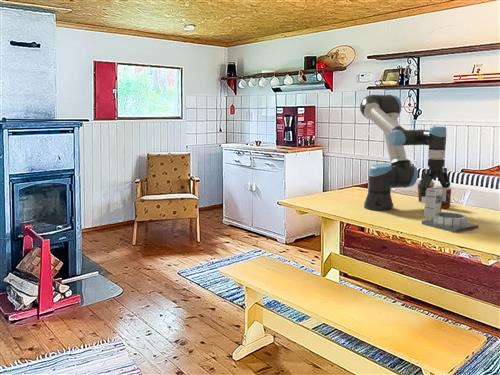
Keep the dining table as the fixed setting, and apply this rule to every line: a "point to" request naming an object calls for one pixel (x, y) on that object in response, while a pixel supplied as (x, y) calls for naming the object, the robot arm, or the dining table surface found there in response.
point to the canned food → (446, 203)
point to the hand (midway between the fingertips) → (433, 202)
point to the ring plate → (449, 228)
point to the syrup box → (433, 202)
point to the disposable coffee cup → (421, 190)
